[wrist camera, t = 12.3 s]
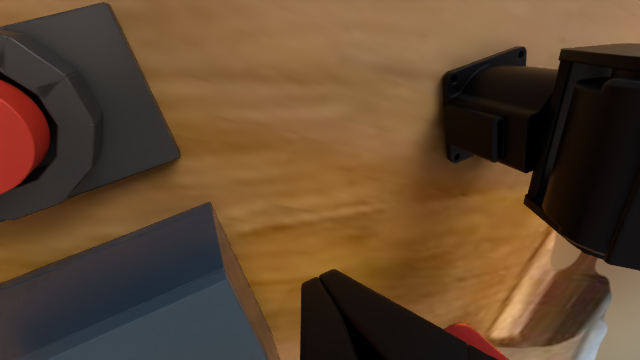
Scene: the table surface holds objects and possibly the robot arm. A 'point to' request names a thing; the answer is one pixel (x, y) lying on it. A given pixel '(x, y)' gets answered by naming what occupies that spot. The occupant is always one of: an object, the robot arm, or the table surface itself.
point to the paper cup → (474, 339)
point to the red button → (20, 136)
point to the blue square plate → (170, 329)
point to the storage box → (120, 282)
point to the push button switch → (82, 106)
